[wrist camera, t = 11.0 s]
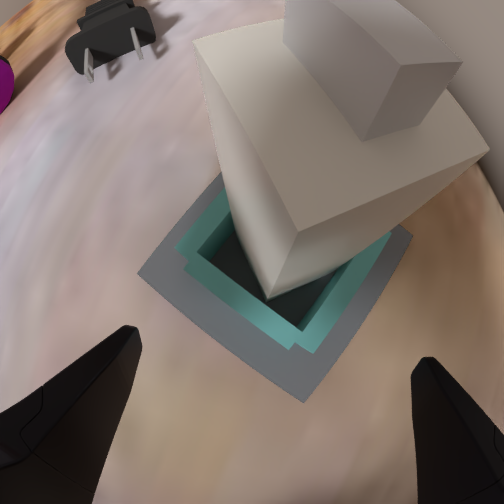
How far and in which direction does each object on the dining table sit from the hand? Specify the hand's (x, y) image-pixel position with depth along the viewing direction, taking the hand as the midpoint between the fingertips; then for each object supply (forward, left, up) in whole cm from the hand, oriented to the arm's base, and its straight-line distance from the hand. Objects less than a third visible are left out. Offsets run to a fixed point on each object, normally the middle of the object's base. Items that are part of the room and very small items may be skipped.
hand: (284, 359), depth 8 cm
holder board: (+2, -4, -8) cm, 10 cm away
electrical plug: (+41, -19, -9) cm, 46 cm away
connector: (+2, -4, -7) cm, 9 cm away
